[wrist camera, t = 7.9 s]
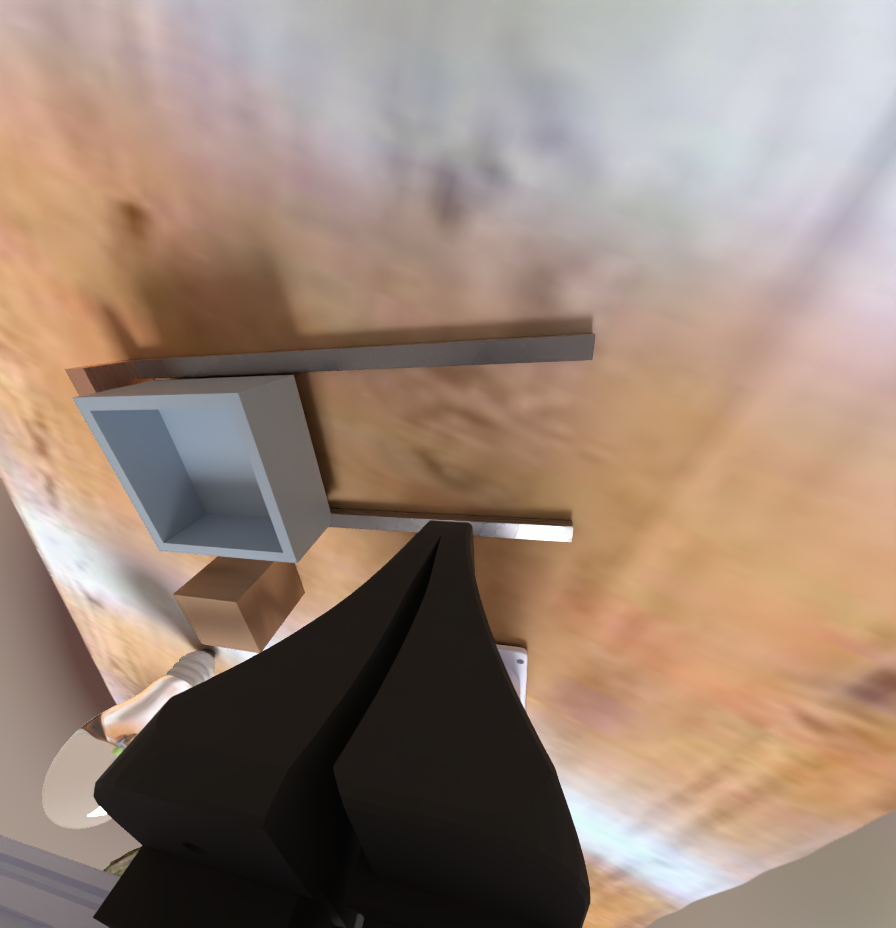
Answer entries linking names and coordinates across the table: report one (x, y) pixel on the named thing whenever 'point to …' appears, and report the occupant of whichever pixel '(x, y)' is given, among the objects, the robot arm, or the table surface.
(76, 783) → the light bulb
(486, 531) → the rails
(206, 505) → the grey open tray bin
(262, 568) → the walnut block
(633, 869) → the table surface
